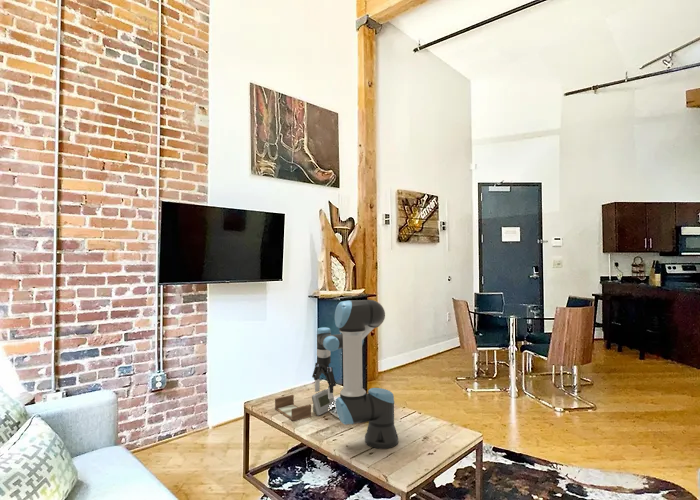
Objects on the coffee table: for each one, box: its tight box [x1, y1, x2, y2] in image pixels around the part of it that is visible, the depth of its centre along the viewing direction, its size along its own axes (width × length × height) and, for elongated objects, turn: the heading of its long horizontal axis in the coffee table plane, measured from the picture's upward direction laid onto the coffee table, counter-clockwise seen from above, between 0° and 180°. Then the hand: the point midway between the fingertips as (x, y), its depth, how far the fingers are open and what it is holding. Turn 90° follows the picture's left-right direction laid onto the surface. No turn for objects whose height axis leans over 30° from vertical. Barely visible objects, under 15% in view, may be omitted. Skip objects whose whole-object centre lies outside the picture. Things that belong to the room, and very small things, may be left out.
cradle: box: [274, 394, 312, 422], centre depth 222 cm, size 20×11×6 cm, turn 36°
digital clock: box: [311, 388, 336, 417], centre depth 224 cm, size 16×9×11 cm, turn 133°
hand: (323, 394), depth 225 cm, fingers open, 13 cm apart
